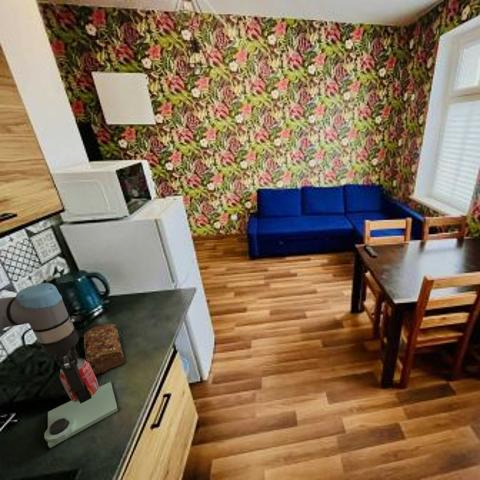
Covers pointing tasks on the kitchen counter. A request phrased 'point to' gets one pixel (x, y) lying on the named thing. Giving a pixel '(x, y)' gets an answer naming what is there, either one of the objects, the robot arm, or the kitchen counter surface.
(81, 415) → the scale
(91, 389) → the soda can
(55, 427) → the button
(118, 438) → the kitchen counter surface
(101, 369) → the bread
